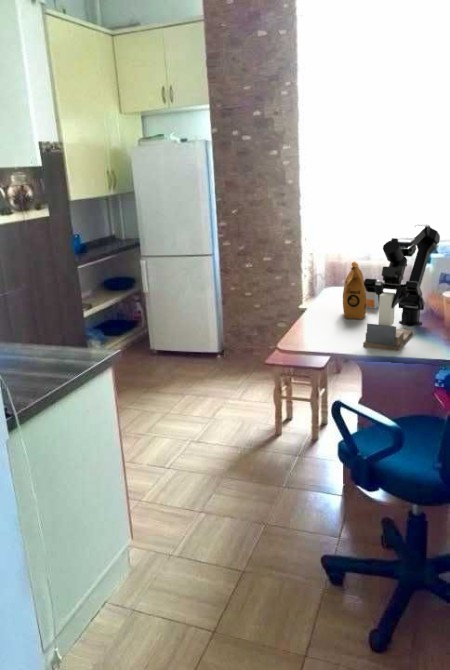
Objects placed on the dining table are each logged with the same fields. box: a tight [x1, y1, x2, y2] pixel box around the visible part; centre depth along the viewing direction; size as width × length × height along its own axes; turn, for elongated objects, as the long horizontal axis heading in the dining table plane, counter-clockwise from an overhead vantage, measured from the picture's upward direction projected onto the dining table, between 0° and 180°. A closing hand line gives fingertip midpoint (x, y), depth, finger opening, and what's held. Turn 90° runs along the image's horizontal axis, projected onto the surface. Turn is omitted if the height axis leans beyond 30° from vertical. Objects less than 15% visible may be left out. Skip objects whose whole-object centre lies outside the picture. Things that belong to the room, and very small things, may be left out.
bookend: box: [366, 322, 397, 346], centre depth 192 cm, size 1×10×7 cm, turn 59°
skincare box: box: [365, 279, 382, 309], centre depth 244 cm, size 6×4×12 cm
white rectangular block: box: [377, 291, 396, 326], centre depth 195 cm, size 5×4×11 cm
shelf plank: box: [362, 328, 413, 352], centre depth 201 cm, size 20×12×4 cm, turn 148°
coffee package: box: [342, 261, 367, 320], centre depth 231 cm, size 10×12×22 cm
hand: (385, 307), depth 193 cm, fingers closed on white rectangular block, 4 cm apart
